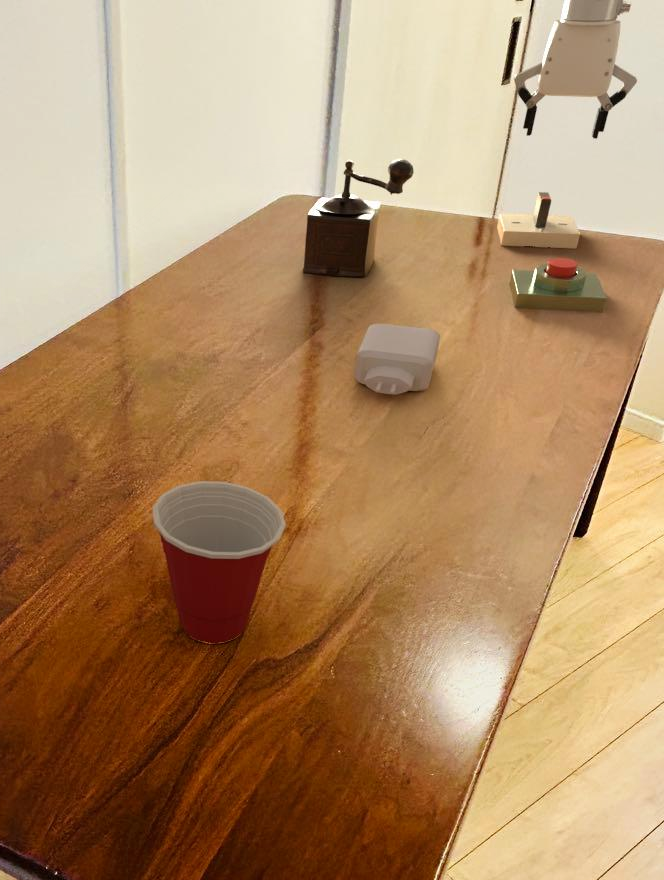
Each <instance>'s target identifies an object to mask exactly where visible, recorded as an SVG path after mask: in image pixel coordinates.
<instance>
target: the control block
mask: <svg viewBox="0 0 664 880" xmlns="http://www.w3.org/2000/svg"><path fill="white" fill-rule="evenodd" d="M547 265H548V263H546V264H541V265H539V266H537V267H535V269H534V270H524V269H512V270H511V274H510V279H509V282H508V283H509V288H510V292H511V297H512V301H513V307H514V309H530V310H531V309H533V310H546V311H547V310H549V311H564V312H565V311H566V312H568V311H569V312H583V313H601V314H602V313H604V309H605V306H606V303H607V299H608V297H607V295H606V293H605V291H604V289H603V286H602V284H601V281H600V280H599V279H600V278H599V276H598V274H597V273H591V272H589V273H588V272H586V270H585V269H583V268H581V267H578V266H577V269H576V273H575V276H573V277H556V276H552V275H549V274H547V273H546V269H547Z"/></svg>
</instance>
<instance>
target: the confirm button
mask: <svg viewBox="0 0 664 880" xmlns="http://www.w3.org/2000/svg"><path fill="white" fill-rule="evenodd" d="M547 264H548V265H547V269H546V273H547V274H549V275H552V276H556V277H573V276H575V273H576V269H577V267H578V265H579V264H578V262H577V261H576V260H573V259H570V258H565V257H561V258H560V257H556V258H551V259H549V260H548V262H547Z"/></svg>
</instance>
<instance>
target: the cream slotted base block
mask: <svg viewBox="0 0 664 880" xmlns="http://www.w3.org/2000/svg"><path fill="white" fill-rule="evenodd" d="M533 215H534V214H527V213H526V214H525V213H524V214H523V213H499V216H498V220H497V225H496V226H497V227H496V228H497V233H498V238H499V242H500V246H501V247H524V246H533V247H532V248H548V247H550V248H553V249H574V250H576V249H577V248H578V244H579V240H580V236H581V233H580V231H579V229H578V226H577V223H576V221H575V218H574V217H573V215H557V214H554V215H552V214H548V218H547V222H546V226H545V227H535V224H534V221H533ZM534 246H535V247H534ZM550 248H549V249H550Z"/></svg>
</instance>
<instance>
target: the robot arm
mask: <svg viewBox="0 0 664 880" xmlns="http://www.w3.org/2000/svg"><path fill="white" fill-rule="evenodd" d="M631 6H632V2H631V1H626V0H564V3H563V7H562V12H561V17H560V19H557V20H555V21H554V24H553V26H552V28H551V31H550V33H549V36H548V40H547V43H546V47H545V50H544V54H543V58H542V61H541V62H540V63H538V64H536V65H533V66H532V67H529V68H527V69H525V70H523V71H521V72H518V73H516V74H515V75H514V78H513V81H514V85H515V88H516V91H517V95H518V97H519V98H520V99H521V101H522V102H523V104H525V107H526V112H525V117H524V122H523V126H522V129H524V130H526V135H525V136H528V137H529V136H532V133H533V129H534V124H535V120H536V115H537V110H538V106H537V104H538V103H539V102H540V101H541V100H542V99H543V98H544V97H546V96H548V97H571V98H573V97H574V98H575V97H576V98H597V100H598V101H599V103H600V106H599V107H598V108H597V112H596V116H595V120H594V122H593V128H592V130H591V138H593V139H594V140H595V139H598V137H599V133H603V132H604V131H605V127H606V124H607V120H608V116H609V111H611V110H612V109H613V108H614V107H615V106H617V105H618V104H619V103H620V102H622V101H623V100H624V99H626V97H627V95H628V94H629V93H630V92H631V91H632V90H633V88H634V87H635V85H636V84H637V83H638V78H637V77H636V76H635V75H633V74H632V73H630V72H628V71H627V70H625V69H624V68H623V67H620V66H619V65H618V64H616V59H617V54H618V50H619V49H618V48H619V40H620V35H621V21H620V20H617V19H618V16H620V15H621V14H622V15H623V14H624V13H630V10H631ZM537 75H538V80H537V89H535V91H534V92H533V93H531V92H530V91H529V90H528V88H527V86H526V81H528V80H529V79H532V78H534V77H536V76H537ZM613 77H614V78H616V79H618V80H619V81H621V82H622V86H621V87H620V89H618V90H617V91H616V92H614V94H612V95H611V96H609V94H608V91H609V88H610V85H611V81H612V78H613Z"/></svg>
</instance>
